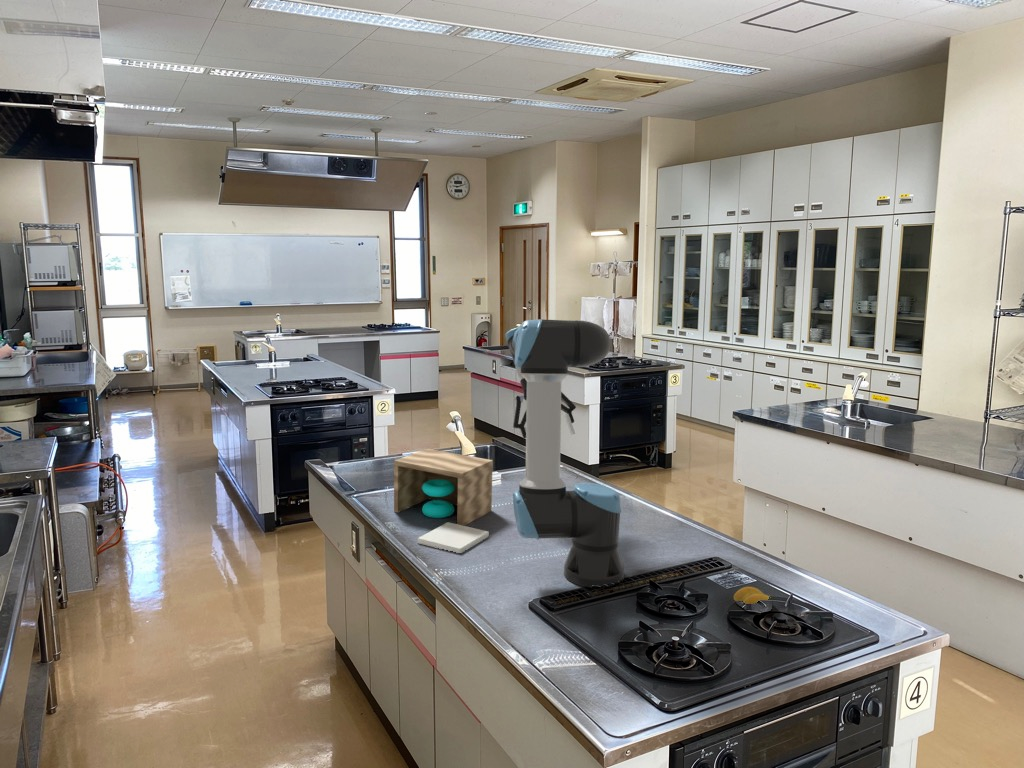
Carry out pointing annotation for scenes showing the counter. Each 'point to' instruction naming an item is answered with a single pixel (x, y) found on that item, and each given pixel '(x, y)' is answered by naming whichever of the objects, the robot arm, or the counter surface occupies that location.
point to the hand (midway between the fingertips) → (552, 441)
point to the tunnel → (459, 469)
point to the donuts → (438, 506)
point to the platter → (453, 537)
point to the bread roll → (749, 595)
